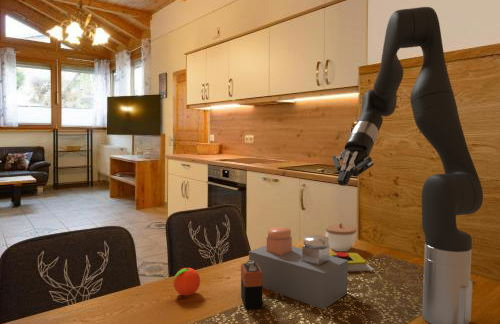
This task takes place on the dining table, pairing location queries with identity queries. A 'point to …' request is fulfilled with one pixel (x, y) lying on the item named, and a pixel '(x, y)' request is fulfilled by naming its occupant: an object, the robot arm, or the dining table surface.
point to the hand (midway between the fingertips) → (341, 183)
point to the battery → (251, 285)
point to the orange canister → (279, 240)
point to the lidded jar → (340, 236)
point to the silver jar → (315, 249)
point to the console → (302, 276)
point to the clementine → (186, 281)
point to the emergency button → (353, 261)
